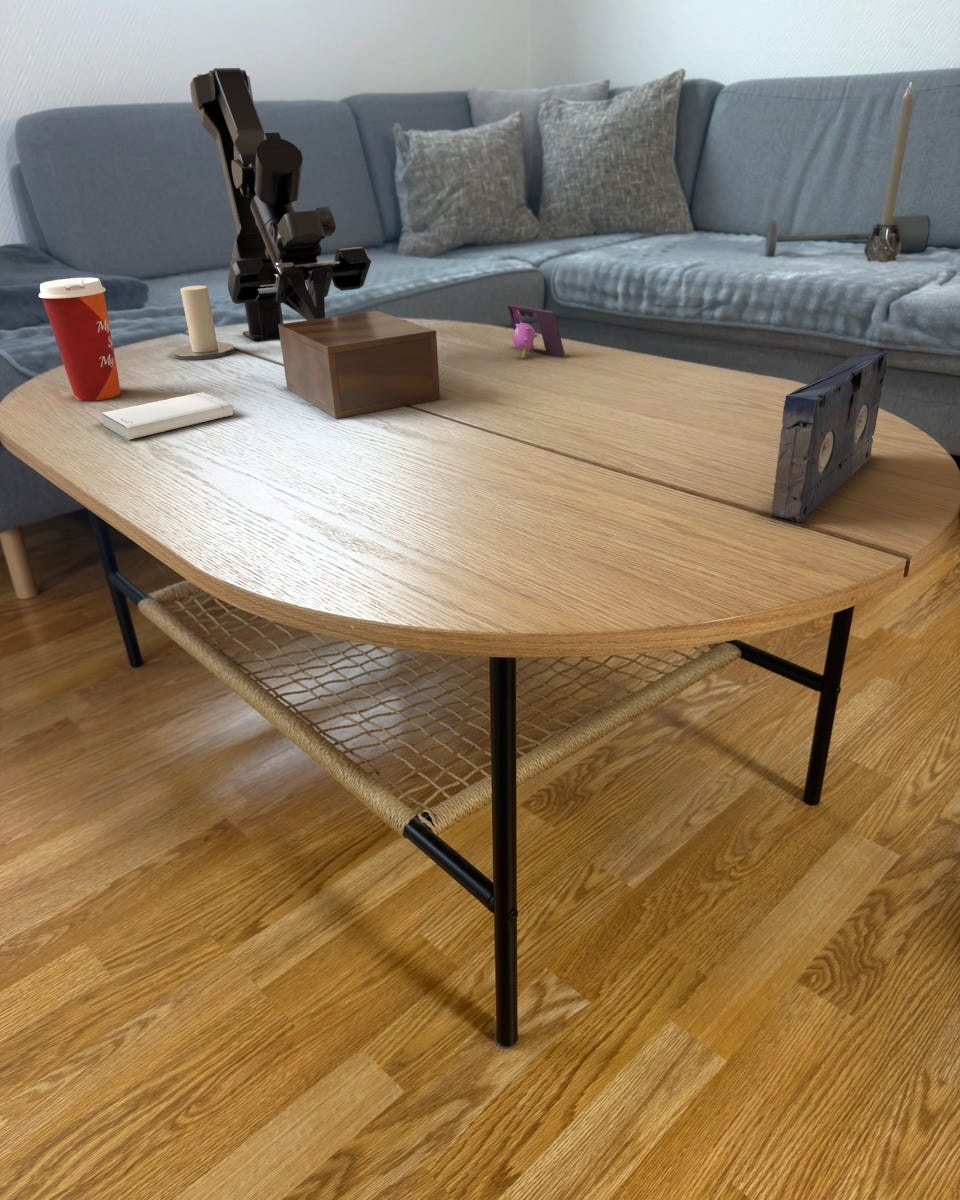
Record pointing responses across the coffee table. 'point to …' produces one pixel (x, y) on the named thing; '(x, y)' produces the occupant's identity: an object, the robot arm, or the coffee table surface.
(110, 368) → the paper cup
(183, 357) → the coaster
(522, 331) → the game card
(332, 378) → the cabinet
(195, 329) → the candle
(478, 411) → the coffee table surface
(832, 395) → the vhs cassette tape
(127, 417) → the hard drive
